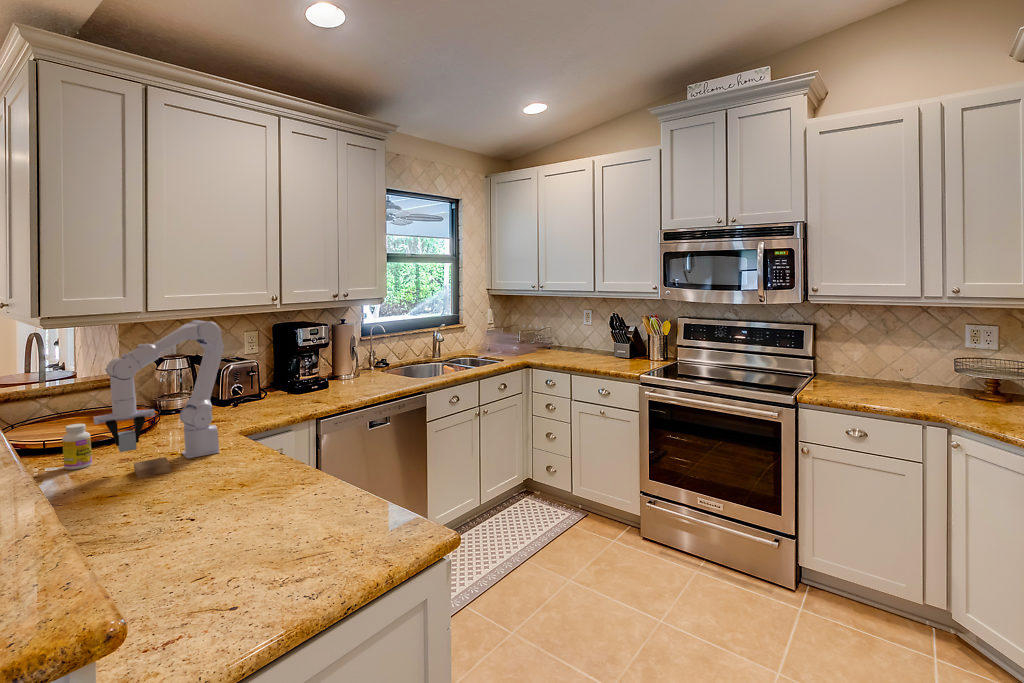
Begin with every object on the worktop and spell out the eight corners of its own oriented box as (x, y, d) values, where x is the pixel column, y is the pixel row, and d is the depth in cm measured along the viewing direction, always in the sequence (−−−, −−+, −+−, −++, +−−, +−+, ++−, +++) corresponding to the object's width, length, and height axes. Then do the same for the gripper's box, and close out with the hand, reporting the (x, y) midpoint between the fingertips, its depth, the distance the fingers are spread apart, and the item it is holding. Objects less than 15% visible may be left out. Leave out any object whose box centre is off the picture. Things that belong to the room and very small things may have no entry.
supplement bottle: (76, 471, 156) (73, 429, 155) (58, 469, 157) (54, 427, 156) (98, 463, 163) (95, 423, 161) (80, 462, 164) (77, 422, 163)
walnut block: (166, 466, 162) (165, 457, 162) (171, 473, 156) (170, 463, 156) (134, 472, 156) (133, 462, 156) (138, 480, 151) (137, 470, 150)
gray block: (134, 446, 159) (133, 430, 159) (136, 449, 156) (135, 433, 156) (118, 449, 156) (117, 432, 156) (120, 452, 154) (118, 435, 153)
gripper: (151, 393, 162) (154, 435, 164) (91, 400, 153) (95, 445, 154) (154, 397, 157) (157, 441, 159) (93, 404, 148) (97, 451, 149)
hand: (127, 443), depth 156 cm, fingers closed on gray block, 4 cm apart
